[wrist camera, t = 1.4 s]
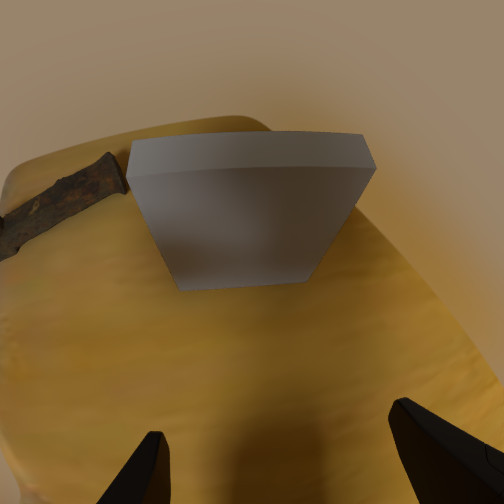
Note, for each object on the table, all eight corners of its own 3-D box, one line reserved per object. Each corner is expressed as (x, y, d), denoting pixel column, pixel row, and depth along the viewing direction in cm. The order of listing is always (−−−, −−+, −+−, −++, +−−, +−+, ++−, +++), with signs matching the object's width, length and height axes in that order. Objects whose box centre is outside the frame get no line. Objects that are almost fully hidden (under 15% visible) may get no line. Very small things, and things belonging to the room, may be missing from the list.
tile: (306, 281, 24) (376, 168, 12) (179, 291, 23) (125, 177, 11) (302, 255, 25) (360, 130, 13) (179, 263, 24) (133, 135, 12)
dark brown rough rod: (122, 169, 28) (109, 138, 24) (132, 197, 27) (117, 166, 23) (-17, 247, 24) (-41, 227, 20) (-16, 278, 22) (-43, 260, 18)
